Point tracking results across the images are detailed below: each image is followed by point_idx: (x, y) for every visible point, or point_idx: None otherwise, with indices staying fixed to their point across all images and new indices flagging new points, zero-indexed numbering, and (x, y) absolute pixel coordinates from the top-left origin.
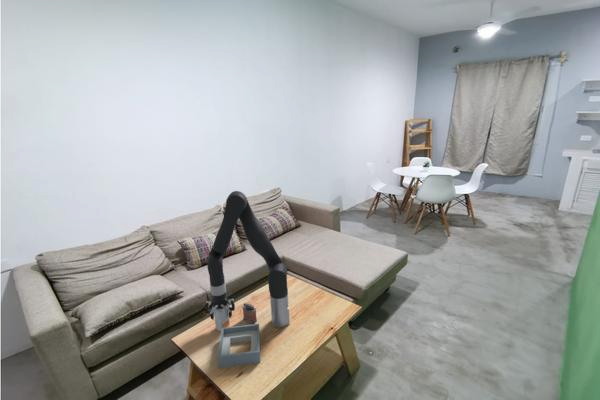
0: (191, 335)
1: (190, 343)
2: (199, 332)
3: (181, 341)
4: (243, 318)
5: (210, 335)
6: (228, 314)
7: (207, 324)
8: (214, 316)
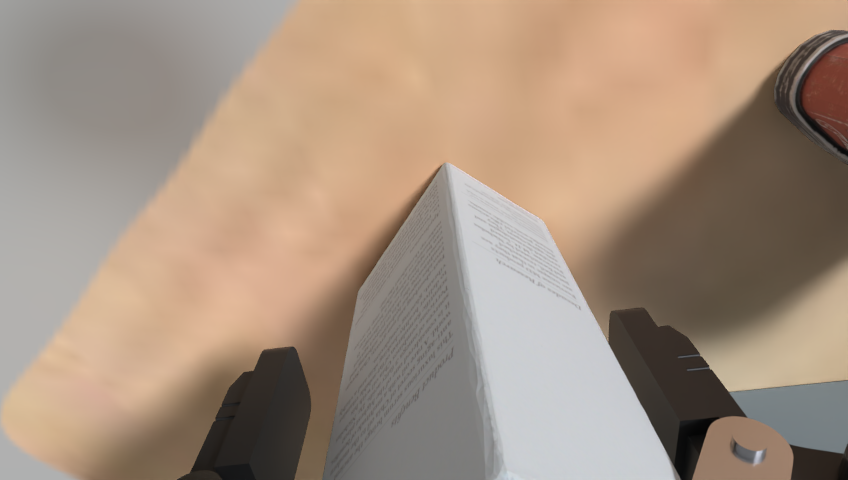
0: (86, 374)
1: (153, 465)
2: (159, 335)
3: (32, 443)
4: (783, 93)
5: (327, 380)
6: (607, 346)
7: (189, 197)
8: (326, 472)
